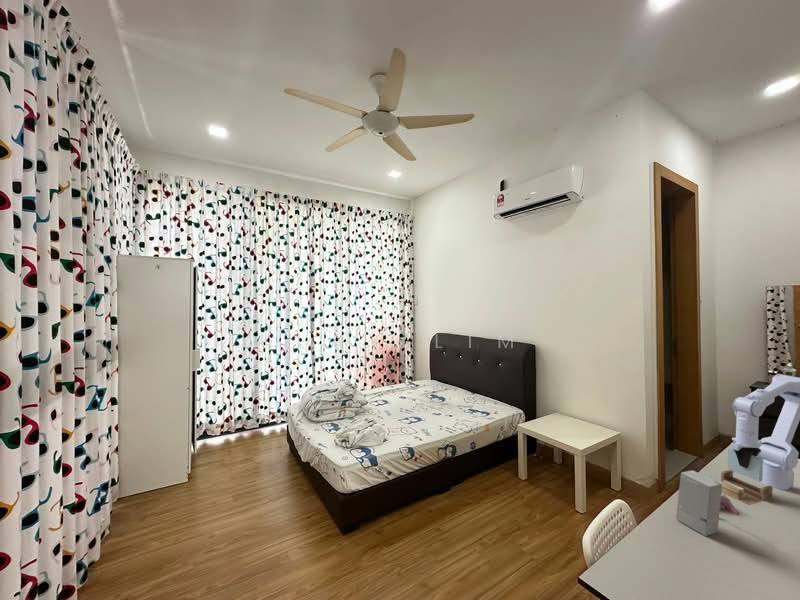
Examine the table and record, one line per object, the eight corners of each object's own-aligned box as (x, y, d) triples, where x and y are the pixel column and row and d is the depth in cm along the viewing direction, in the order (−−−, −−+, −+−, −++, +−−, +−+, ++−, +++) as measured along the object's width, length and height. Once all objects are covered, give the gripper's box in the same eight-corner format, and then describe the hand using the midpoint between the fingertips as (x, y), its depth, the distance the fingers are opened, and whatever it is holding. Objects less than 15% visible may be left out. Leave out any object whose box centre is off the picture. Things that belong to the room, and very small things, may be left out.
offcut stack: (724, 487, 125) (724, 480, 124) (745, 497, 119) (745, 489, 119) (717, 489, 123) (717, 481, 123) (738, 499, 118) (738, 491, 118)
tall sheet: (731, 468, 129) (731, 448, 129) (762, 480, 120) (763, 459, 120) (727, 469, 128) (728, 448, 128) (759, 481, 120) (759, 459, 119)
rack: (730, 482, 130) (730, 469, 130) (772, 501, 119) (772, 486, 119) (707, 488, 126) (707, 475, 126) (748, 508, 115) (748, 493, 115)
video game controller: (729, 516, 113) (722, 492, 116) (741, 518, 109) (733, 493, 112) (698, 513, 114) (692, 490, 117) (708, 515, 110) (701, 491, 113)
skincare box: (675, 520, 108) (677, 472, 107) (689, 515, 110) (691, 468, 110) (707, 538, 100) (708, 486, 99) (721, 532, 102) (723, 482, 102)
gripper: (744, 424, 130) (743, 458, 130) (721, 428, 125) (720, 463, 125) (769, 431, 123) (768, 467, 123) (745, 436, 119) (744, 473, 119)
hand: (745, 466), depth 124 cm, fingers closed on tall sheet, 2 cm apart
